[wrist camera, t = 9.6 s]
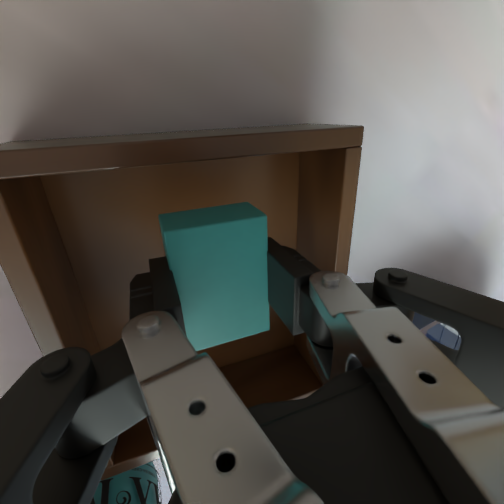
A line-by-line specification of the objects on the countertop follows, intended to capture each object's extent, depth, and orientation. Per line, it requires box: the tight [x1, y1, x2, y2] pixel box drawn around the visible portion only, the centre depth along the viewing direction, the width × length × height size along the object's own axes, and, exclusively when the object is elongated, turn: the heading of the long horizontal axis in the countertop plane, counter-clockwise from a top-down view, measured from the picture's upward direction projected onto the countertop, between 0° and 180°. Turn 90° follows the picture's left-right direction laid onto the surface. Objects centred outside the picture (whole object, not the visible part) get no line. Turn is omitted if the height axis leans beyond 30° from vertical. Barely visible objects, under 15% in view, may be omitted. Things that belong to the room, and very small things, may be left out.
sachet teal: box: [158, 202, 270, 351], centre depth 11 cm, size 5×4×2 cm
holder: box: [0, 124, 364, 480], centre depth 15 cm, size 16×14×5 cm
